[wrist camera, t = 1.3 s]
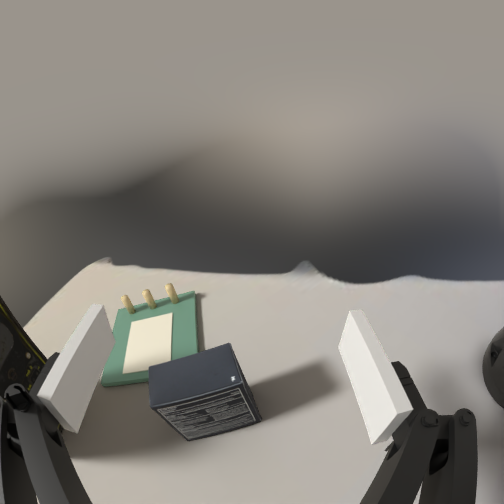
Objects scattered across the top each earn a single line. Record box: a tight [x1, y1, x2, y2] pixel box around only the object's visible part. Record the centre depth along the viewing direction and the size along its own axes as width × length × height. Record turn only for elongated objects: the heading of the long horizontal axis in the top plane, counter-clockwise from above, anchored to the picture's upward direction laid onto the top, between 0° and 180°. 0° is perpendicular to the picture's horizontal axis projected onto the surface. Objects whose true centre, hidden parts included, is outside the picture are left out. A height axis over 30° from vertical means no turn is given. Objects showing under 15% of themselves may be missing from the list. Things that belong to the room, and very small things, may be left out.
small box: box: [148, 343, 262, 441], centre depth 29 cm, size 11×6×10 cm, turn 106°
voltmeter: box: [0, 296, 63, 433], centre depth 25 cm, size 16×9×25 cm, turn 0°
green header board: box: [101, 283, 199, 387], centre depth 46 cm, size 18×20×5 cm
